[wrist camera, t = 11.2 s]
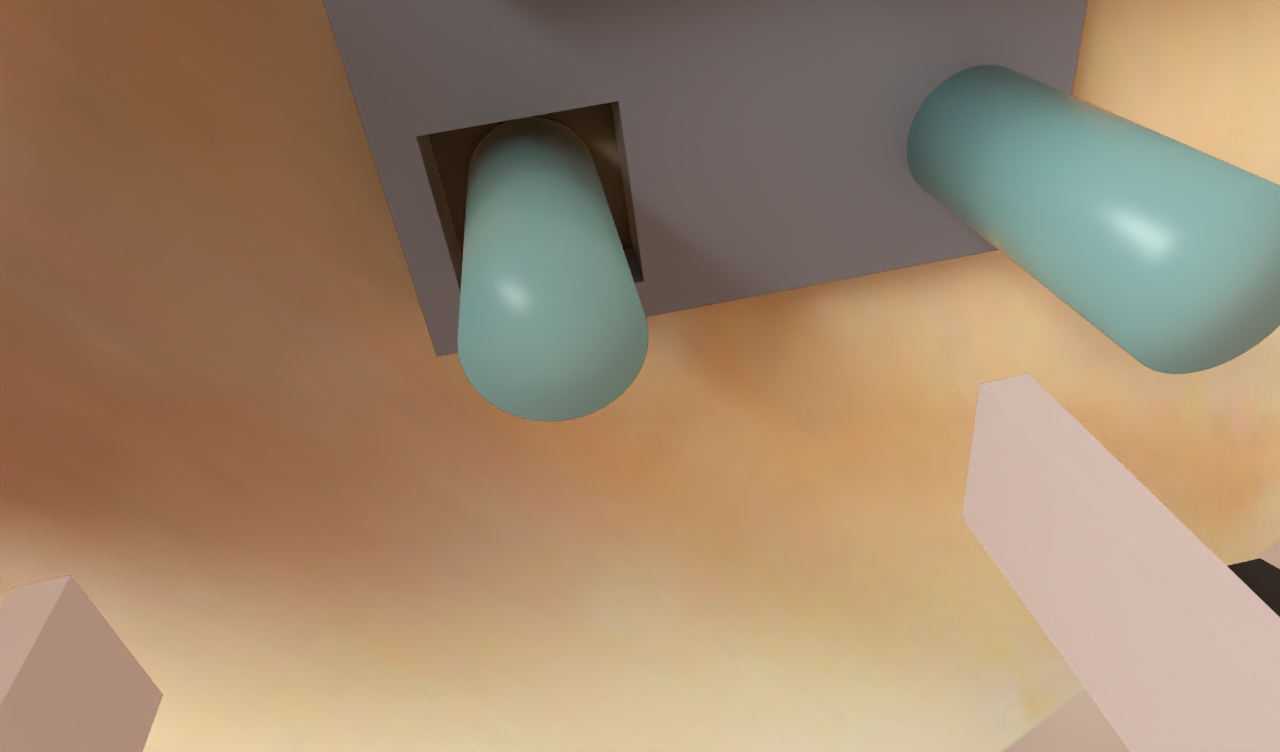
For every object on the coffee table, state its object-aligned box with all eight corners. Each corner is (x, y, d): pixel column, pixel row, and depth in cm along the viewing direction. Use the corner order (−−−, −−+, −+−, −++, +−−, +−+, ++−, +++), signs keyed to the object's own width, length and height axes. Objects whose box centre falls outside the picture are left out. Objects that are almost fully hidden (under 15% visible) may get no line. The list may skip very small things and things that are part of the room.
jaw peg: (453, 129, 24) (434, 277, 16) (585, 106, 24) (635, 240, 16) (484, 251, 26) (482, 436, 18) (605, 229, 27) (658, 402, 18)
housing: (440, 317, 28) (411, 603, 17) (219, -407, 17) (-176, -770, 7) (1007, 211, 29) (1300, 419, 18) (1105, -526, 19) (1879, -989, 8)
